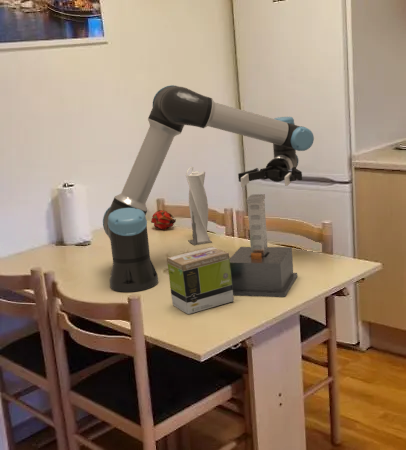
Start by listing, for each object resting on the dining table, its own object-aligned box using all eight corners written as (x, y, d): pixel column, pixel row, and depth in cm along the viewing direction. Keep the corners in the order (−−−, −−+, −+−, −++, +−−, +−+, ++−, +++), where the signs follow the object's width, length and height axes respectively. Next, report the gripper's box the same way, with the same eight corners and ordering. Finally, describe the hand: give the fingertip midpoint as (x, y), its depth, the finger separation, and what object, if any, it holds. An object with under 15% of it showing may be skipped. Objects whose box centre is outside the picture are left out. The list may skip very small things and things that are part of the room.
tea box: (216, 293, 206) (212, 245, 202) (234, 302, 197) (230, 252, 194) (171, 305, 199) (166, 255, 196) (187, 315, 191) (182, 263, 187)
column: (265, 282, 205) (260, 198, 199) (252, 282, 207) (246, 199, 200) (270, 276, 211) (265, 194, 205) (257, 275, 212) (251, 194, 206)
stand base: (284, 297, 198) (282, 259, 195) (224, 295, 204) (221, 258, 201) (297, 276, 214) (295, 241, 212) (240, 275, 220) (238, 240, 218)
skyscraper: (187, 240, 266) (180, 167, 259) (207, 237, 268) (200, 165, 262) (194, 245, 258) (187, 170, 251) (214, 241, 261) (208, 167, 254)
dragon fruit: (155, 229, 293) (174, 237, 285) (142, 222, 287) (161, 230, 278) (165, 211, 294) (183, 219, 285) (152, 203, 288) (170, 211, 279)
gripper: (317, 178, 227) (305, 193, 208) (243, 180, 235) (225, 194, 216) (316, 156, 225) (304, 168, 206) (241, 158, 233) (223, 170, 214)
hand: (263, 181), depth 211 cm, fingers open, 13 cm apart
